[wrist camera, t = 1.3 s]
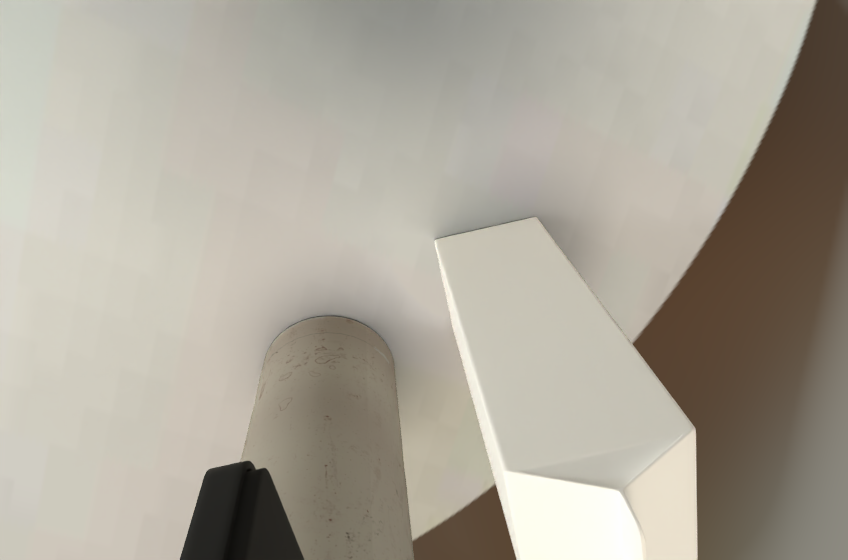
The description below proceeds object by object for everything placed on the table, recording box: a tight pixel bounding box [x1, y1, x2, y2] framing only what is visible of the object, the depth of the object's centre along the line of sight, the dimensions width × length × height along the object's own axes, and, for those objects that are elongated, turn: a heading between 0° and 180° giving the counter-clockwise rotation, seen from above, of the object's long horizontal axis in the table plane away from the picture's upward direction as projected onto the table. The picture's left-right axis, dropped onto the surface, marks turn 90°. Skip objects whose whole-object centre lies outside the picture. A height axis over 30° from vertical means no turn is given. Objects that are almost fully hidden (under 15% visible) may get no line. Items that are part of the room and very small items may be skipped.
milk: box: [435, 217, 697, 560], centre depth 27 cm, size 6×6×22 cm
